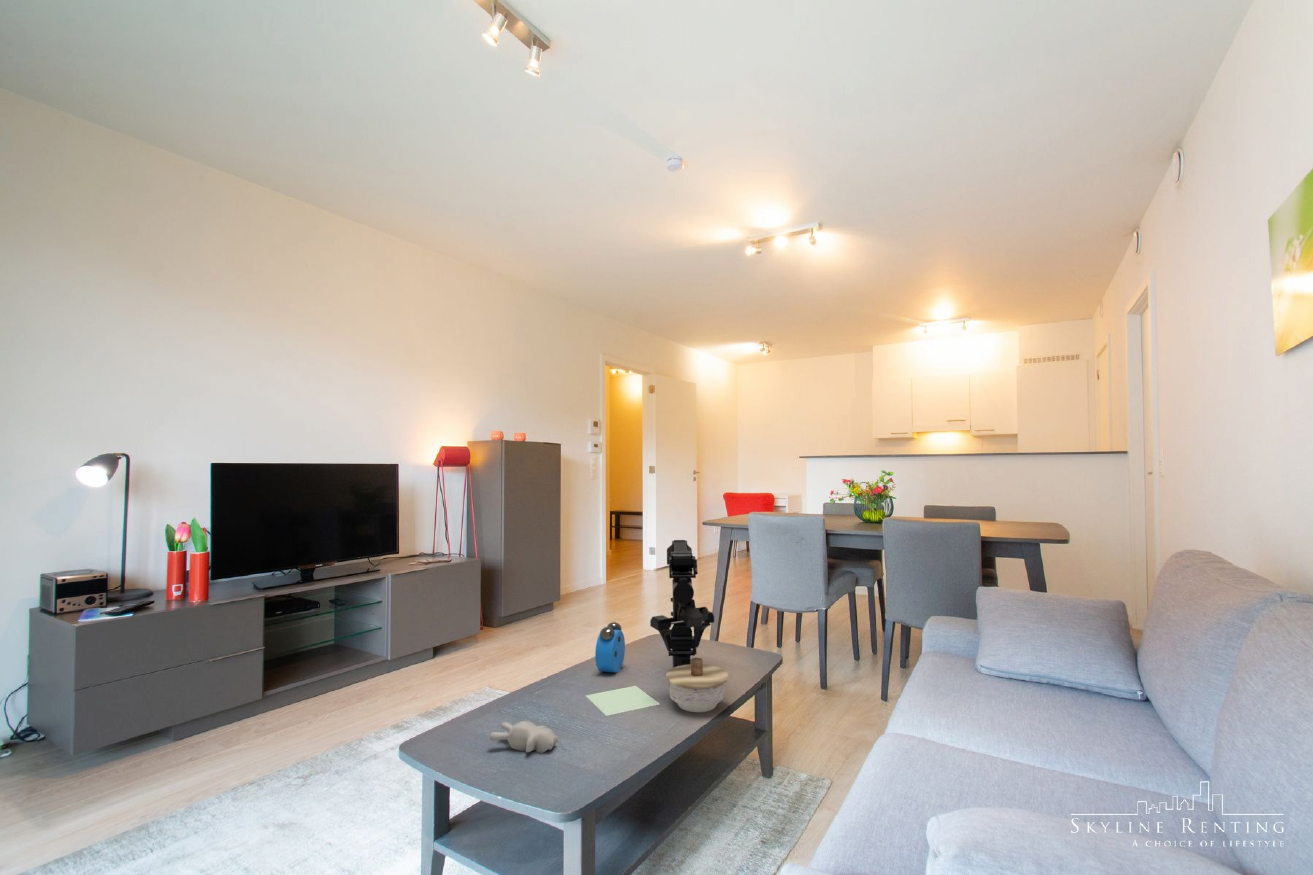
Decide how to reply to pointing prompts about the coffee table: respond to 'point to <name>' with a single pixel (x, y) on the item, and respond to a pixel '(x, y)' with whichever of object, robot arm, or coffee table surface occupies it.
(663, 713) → the coffee table surface
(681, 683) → the lid
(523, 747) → the bunny figurine
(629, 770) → the coffee table surface
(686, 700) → the white and purple bowl
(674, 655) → the robot arm
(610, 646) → the alarm clock
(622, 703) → the mat
